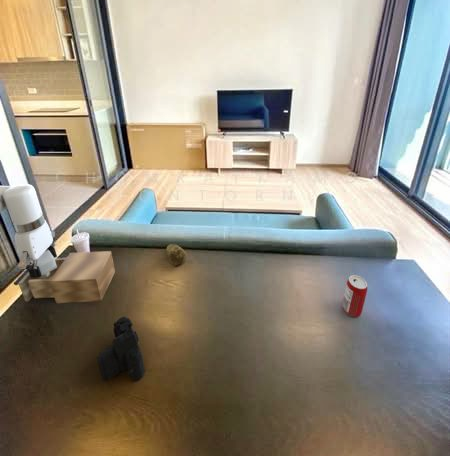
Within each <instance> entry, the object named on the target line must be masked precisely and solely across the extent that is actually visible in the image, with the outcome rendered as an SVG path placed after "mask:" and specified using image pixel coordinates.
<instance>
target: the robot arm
mask: <svg viewBox="0 0 450 456" xmlns="http://www.w3.org/2000/svg"><path fill="white" fill-rule="evenodd" d="M5 210H7V212H8V214H9V217H10V220H11V223H12V225H13V228H14V230H15V234H14V241H15V242H14V243H15V248H16V252H17V256H18V258H19V262H18V265H17V268H18V269H21V270H27V269H28V272H29V274H30V277H31V278H35V277H41V276H42V274H41V271H40V268H39V266H37V259H38V258H39V257H40V256H41V255H42V254H43V253H44V252H45V251H46V250H49V251H50V253H51V254H52V255H53V257H54V259H55V258H57V257H58V254H57V252H56V248H55V247H56V243H55V241H56V231H52V230H51V229H50V225H49V224H48V222H47V221H46V219H45V217H44V214H43V210H42V207H41V204H40V200H39V197H38V194H37V191H36V189H35V187H34V186H33V185H32V184H30V183H22V184H17V185H0V214H1V213H2V212H3V211H5ZM30 261H33V265H32V264H31V262H30Z"/></svg>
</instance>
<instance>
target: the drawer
mask: <svg viewBox="0 0 450 456" xmlns="http://www.w3.org/2000/svg"><path fill="white" fill-rule="evenodd" d="M66 258H67V257H58V258H57V257H56V258H54V260H55V263H56V266H57V268H56V269H54V270H52V271H50V272H48V273H46V274H44V275H42V276H41V277H35V278H31V277H30V274H29V272H28V269H27V270H26V269H24V270H23V272H22V273H21V274H20V275H19V276H18V277H17V278H16V279H15V281H14V282H13V285H14V286H18V287H19V289H20V291H21V292H20V293H21V294H22V297H23V299H24V301H25V302H29V301H30V300H31V299H32V298H34V299H47V298H54V295H53V292H52V289H51V286H50V283H49V280H50V279H51V278H52V276H53V275H54V274H55V272H56V271H57V270H58V268H59V267H60V266H61V264H62V263H63V262H64V260H65V259H66Z"/></svg>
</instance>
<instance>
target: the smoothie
mask: <svg viewBox="0 0 450 456" xmlns="http://www.w3.org/2000/svg"><path fill="white" fill-rule="evenodd" d="M75 232H76V234H74V235H73V236H71V238H70V243H71V244H72V245H73V247H74V249H75V251H76V253H79V252H91V249H90V234H89V233H88V232H86V231H83V232H79V229H78V228H75Z"/></svg>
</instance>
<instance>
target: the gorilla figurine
mask: <svg viewBox="0 0 450 456" xmlns="http://www.w3.org/2000/svg"><path fill="white" fill-rule="evenodd" d="M133 325H134V324H133V321H132V320H131V319H130V318H129V317H127V316H121V317H119V318H118V319H117V320H116V321H115V322H114V323H113V334H114V338H113V340H112V343H113V345H110V346H109V347H108V348H106V349H104V350H103V351H101V352H100V354H99V355H97V356H96V360H97V365H98V369H99V373H100V376H101V380H102V382H103V383H105V382H106V381H109V380H111V379H112V378H113V377H115V376H116V375H119V374H121V372H125V371H126V370H127V373H128V374H129V376H130V379H131V381H132V382H139V381H140V380H141V379H142V378H143V377H144V375H145V372H146V368H145V363H144V359H143V358H144V357H143V354H142V351H141V347H140V346H139V343H138V342H139V340H140V339H139V337H138V333H137V331H136V330H134V329H133Z"/></svg>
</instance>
